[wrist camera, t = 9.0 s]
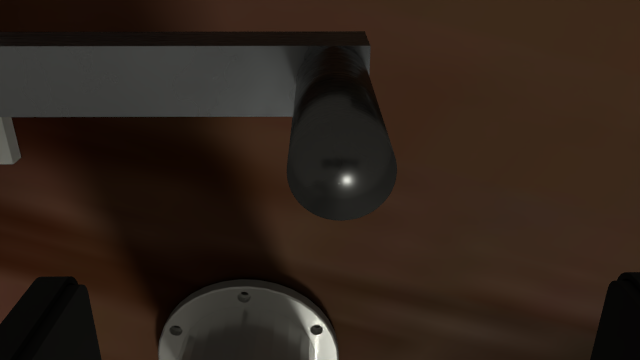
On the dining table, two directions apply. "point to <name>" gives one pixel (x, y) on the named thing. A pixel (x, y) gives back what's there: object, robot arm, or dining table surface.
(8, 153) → the bearing block
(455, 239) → the dining table surface
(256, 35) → the shaft
